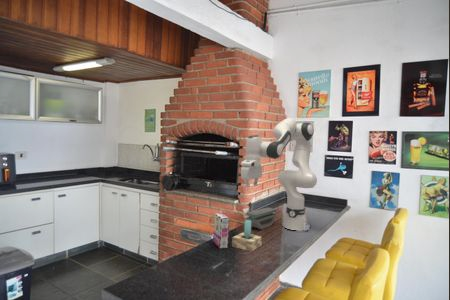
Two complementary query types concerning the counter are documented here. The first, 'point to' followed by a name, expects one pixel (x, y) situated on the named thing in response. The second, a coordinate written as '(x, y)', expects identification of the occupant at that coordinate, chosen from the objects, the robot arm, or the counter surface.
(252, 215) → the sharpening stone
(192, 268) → the counter surface
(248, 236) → the peg
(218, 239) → the candy bar box
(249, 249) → the socket block
